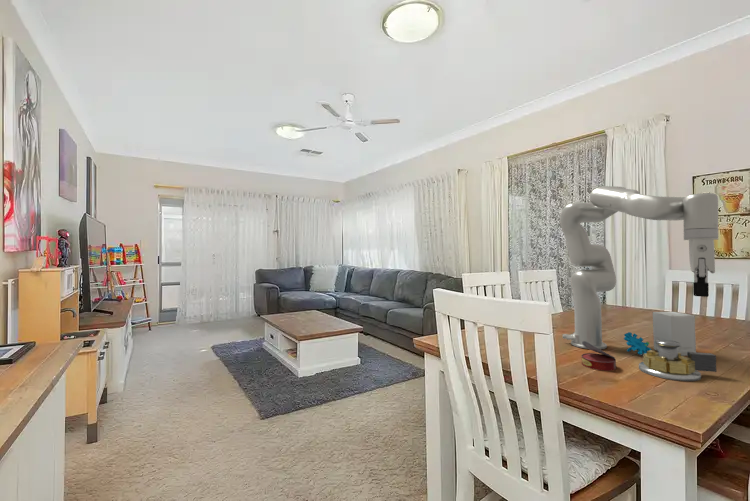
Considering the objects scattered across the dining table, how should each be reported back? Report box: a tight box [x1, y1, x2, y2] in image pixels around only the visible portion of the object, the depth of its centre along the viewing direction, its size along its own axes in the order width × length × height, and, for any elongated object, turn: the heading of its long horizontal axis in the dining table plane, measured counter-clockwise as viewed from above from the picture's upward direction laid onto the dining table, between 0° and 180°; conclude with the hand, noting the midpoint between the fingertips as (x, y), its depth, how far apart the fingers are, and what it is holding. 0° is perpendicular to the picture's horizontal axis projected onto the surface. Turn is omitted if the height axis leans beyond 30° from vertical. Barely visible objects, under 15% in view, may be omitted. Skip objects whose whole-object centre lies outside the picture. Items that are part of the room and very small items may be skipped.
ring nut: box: [642, 349, 717, 374], centre depth 107 cm, size 17×12×5 cm
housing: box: [638, 340, 702, 382], centre depth 108 cm, size 15×15×10 cm
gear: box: [623, 331, 652, 356], centre depth 129 cm, size 11×6×10 cm
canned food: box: [581, 341, 617, 372], centre depth 116 cm, size 11×10×10 cm
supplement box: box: [652, 311, 697, 357], centre depth 128 cm, size 9×9×15 cm
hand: (700, 295), depth 101 cm, fingers closed
